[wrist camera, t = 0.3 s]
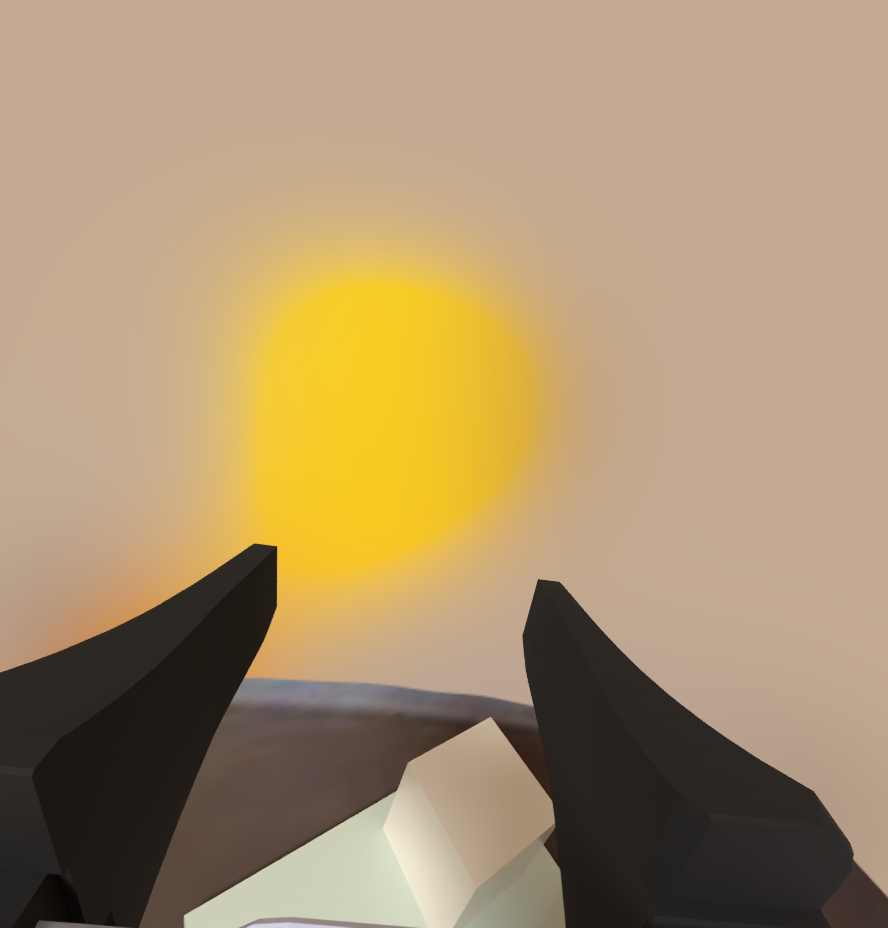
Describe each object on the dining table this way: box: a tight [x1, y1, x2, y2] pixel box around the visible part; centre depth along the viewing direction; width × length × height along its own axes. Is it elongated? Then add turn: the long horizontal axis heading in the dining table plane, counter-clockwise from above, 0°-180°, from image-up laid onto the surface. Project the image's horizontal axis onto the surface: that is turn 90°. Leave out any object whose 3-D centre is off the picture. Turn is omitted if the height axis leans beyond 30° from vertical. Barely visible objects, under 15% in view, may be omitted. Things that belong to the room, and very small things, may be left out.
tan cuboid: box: [383, 717, 555, 928], centre depth 23 cm, size 6×6×6 cm
